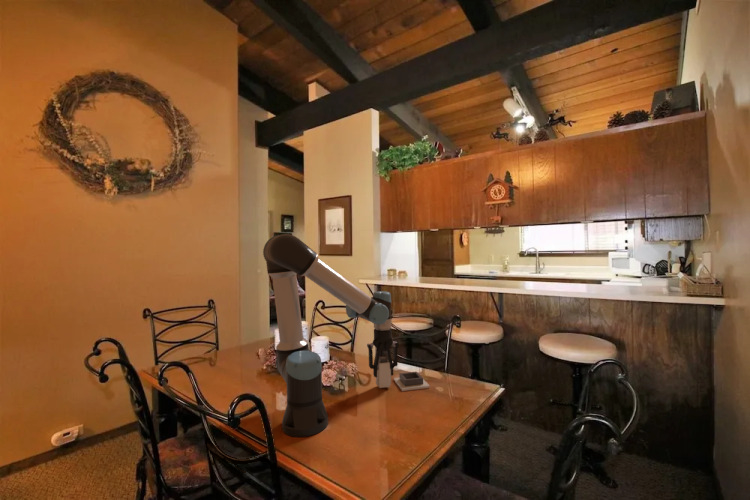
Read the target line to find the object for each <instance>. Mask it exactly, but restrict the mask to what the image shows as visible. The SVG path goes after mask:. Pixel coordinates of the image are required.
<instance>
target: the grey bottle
mask: <svg viewBox="0 0 750 500" xmlns="http://www.w3.org/2000/svg"><path fill="white" fill-rule="evenodd" d="M377 368H378V369H379V386H378V387H379V389H382V388H390V387H391V384H390V363H389V361H388V358H387V356H380V357H379V362H378V367H377Z"/></svg>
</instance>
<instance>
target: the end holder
mask: <svg viewBox="0 0 750 500" xmlns="http://www.w3.org/2000/svg"><path fill="white" fill-rule="evenodd" d="M393 381H394V383H395V384H396V385H397V386H398V389H400V391H401V392H407V391H408V392H409V391H415V390H423V389H424V390H425V389H430V388H431V387H430V384H429V383H428V382H427V381H426V380H425V378H424V377H423V376H422V375H421V374H420V373H419V372H418V371H411V372H410V371H409V372H402V373H400V372H399V377H393Z"/></svg>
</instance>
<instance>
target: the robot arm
mask: <svg viewBox="0 0 750 500" xmlns="http://www.w3.org/2000/svg"><path fill="white" fill-rule="evenodd" d="M262 253H263V254H262V255H263V258H264V260H265V262H266V269H267V270H266V271H267V272H266V273H267V275H268V276H270V277H271V278H272V283H273V284H272V285H273V293H274V295H273V296H274V303H275V304H274V305H275V310H276V312H275V313H276V319H277V320H276V321H277V327H278V328H277V330H278V337H279V342H278V343H277V345H276V346H275V347H276V358H275V367H276V369H277V372H278V373H279V374H280V375H281V377H282V378H283V380H284V382H285V383H286V407H285V411H284V413H283V417H282V419H281V430H282V432H283V433H284V434H286V435H287V436H291V437H295V438H303V437H310V436H314V435H317V434H319V433H320V432H323V431H324V430H325V429H326V428H327V427H328V424H329V416H328V415H329V414H328V412H327V409H326V406H325V404H324V401H323V374H322V372H323V371H322V370H323V363H322V358H321V356H320V355H319V354H318V352H315V351H311V350H310V348H309V341H308V340H307V339H306V338H305V337H304V331H303V323H302V313H301V305H300V295H299V286H298V279H297V278H298V277H297V275H298V276H299V277H303V276H304V277H306V278H307V279H309V280H310V281H311V282H313V283H314V284H316V285H317V286H319V287H320V288H322V289H323V290H325V291H326V292H328V293H329V294H330V295H331V296H333V297H334V298H336V299H337V300H339V301H340V302H342V303H343V304H345V312H346V315H347V317H348V318H350V319H357V318H360V319H363V320H366V321H368V322H369V323H372V324H373V328H374V329H373V341H372V342H371V343H367V344H366V347H367V349H368V367H369V368H370V369H371V370H373V377H374V378H375V384H376V386H378V387H379V369H378V368H377V367H378V362H379V357H381V354H382V352H385V353H386V358H387V360H388V361H389V363H390V385H392V376H394V368H395V367H398V365H399V364H398V348H399V342H397V341H393V338H392V337H393V336H392V335H393V334H392V331H393V330H392V295H391V292H389V291H385V290H384V291H382V290H381V291H380V290H379V291H374V292H373V293H372V296H370V295H369V294H367V293H366V292H365V291H363V290H362V289H361V288H359V287H358V286H357V285H356V284H354V283H353V282H351V281H350V280H348V279H347V278H345V276H343V275H342V274H340V273H339V272H338V271H337V270H335V269H334V268H332V267H331V266H329V265H328V264H327V263H326V262H325V261H323V260H322V259H320V258H319V255H318V252H316V251H315V250H313V249H312V248H311V247H310V246H309V245H307V244H306V243H305V242H304V241H302V240H301V239H300V238H299V237H297V236H295V235H293V234H290V233H285V234H284V233H283V234H280V235H279V234H278V235H274V236H272V237H270V238H269V239H268V240H267V241H266V243H265V244H264V246H263V249H262ZM391 346H392V355H391V350H390V348H391ZM374 347H375V348H376V349H375V354H374V355H373V353H374V352H373V349H374ZM373 356H374V357H373ZM373 358H374V359H373Z"/></svg>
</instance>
